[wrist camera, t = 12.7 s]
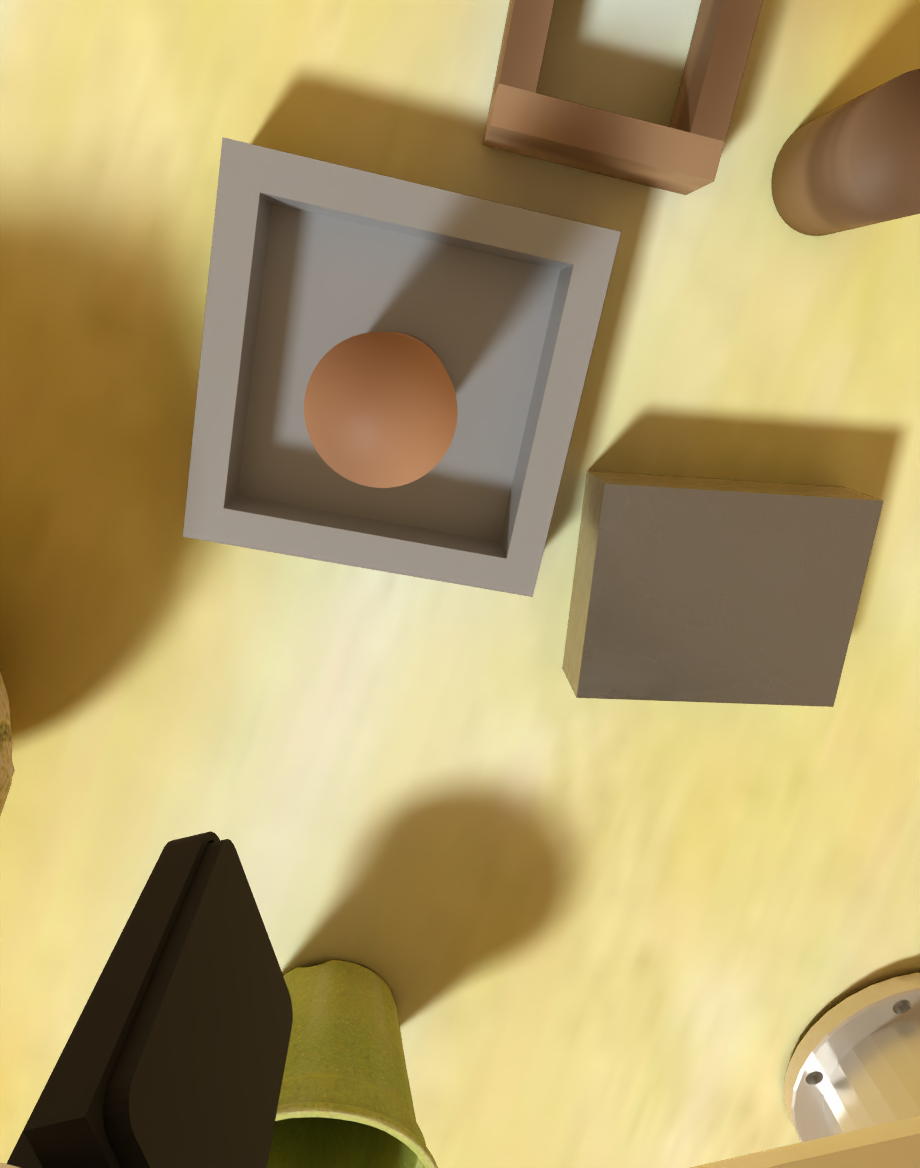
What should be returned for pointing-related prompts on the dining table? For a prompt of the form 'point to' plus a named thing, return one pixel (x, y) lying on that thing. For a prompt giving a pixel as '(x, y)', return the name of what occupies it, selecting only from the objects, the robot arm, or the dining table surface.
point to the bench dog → (853, 162)
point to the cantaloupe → (5, 746)
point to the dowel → (381, 409)
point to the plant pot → (345, 1076)
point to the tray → (389, 304)
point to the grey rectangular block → (715, 589)
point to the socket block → (617, 140)
